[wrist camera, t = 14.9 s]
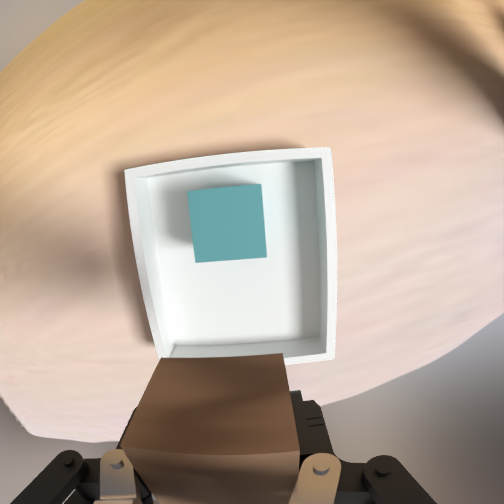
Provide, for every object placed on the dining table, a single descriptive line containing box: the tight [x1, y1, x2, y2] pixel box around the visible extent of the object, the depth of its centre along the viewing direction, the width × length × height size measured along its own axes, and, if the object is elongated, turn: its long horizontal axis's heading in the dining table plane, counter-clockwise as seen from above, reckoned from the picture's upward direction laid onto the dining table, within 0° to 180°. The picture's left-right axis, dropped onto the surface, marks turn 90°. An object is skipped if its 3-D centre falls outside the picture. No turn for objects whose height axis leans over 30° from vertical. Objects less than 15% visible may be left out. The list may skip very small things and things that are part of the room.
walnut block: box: [120, 353, 300, 504], centre depth 9 cm, size 5×5×5 cm
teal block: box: [187, 184, 267, 263], centre depth 22 cm, size 5×5×5 cm
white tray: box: [124, 147, 337, 365], centre depth 24 cm, size 16×18×4 cm
